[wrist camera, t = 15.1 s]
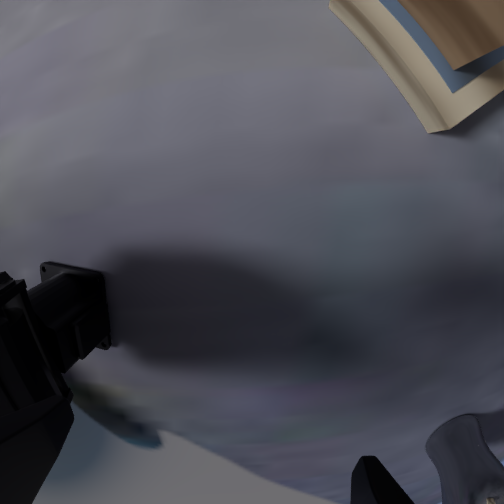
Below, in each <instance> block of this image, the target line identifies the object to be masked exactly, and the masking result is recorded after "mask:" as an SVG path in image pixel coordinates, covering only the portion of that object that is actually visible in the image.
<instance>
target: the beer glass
mask: <svg viewBox="0 0 504 504" xmlns="http://www.w3.org/2000/svg"><path fill="white" fill-rule="evenodd" d="M426 452H427V454H428V456H429V458H430V459H431V461H432V462H433V464H434V465H435V467H436V469H437V472H438V474H439V478H440V483H441V492H442V504H504V466H503V465H502V463H501V462H500V461H499V460H498V459H497V458H496V456H495V455H494V454H493V453H492V451H491V450H490V448H489V447H488V445H487V443H486V441H485V439H484V436H483V433H482V429H481V425H480V422H479V420H478V418H477V417H476V416H474V415H463V416H459V417H456V418H454V419H452V420H450V421H448V422H446V423H445V424H443V425H442V426H441V427H439V428H438V429H437V430H436V431H435V432H434V433H433V434H432V435H431V436H430V438H429V439H428V441H427V443H426Z"/></svg>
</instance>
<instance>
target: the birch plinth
mask: <svg viewBox="0 0 504 504" xmlns="http://www.w3.org/2000/svg"><path fill="white" fill-rule="evenodd" d="M329 9H330V10H331V11H332V12H333V13H334V14H335V15H336V16H337V17H338V18H339V19H340V20H341V21H342V22H343V23H344V24H345V25H346V26H347V27H348V28H349V30H350V31H351V32H352V33H353V34H354V35H355V36H356V37H357V38H358V39H359V41H360V42H361V43H362V44H363V45H364V46H365V48H366V49H367V50H368V51H369V52H370V53H371V55H372V56H373V57H374V58H375V59H376V61H377V62H378V63H379V64H380V66H381V67H382V68H383V69H384V71H385V72H386V73H387V75H388V76H389V77H390V79H391V80H392V81H393V83H394V84H395V85H396V87H397V88H398V89H399V91H400V92H401V93H402V95H403V96H404V98H405V99H406V101H407V102H408V103H409V105H410V106H411V108H412V109H413V111H414V112H415V114H416V115H417V117H418V118H419V120H420V121H421V123H422V125H423V126H424V128H425V129H426V131H427V133H432V132H438V131H443V130H449V129H451V128H452V127H454V126H455V125H456V124H458V123H459V122H461V121H462V120H463V119H465V118H466V117H467V116H469V115H470V114H471V113H473V112H474V111H476V110H477V109H478V108H480V107H481V106H482V105H484V104H485V103H486V102H488V101H489V100H491V99H492V98H493V97H495V96H496V95H497V94H499V93H500V92H501V91H503V90H504V45H503V46H501V47H499V48H497V49H495V50H493V51H491V52H489V53H487V54H485V55H483V56H481V57H479V58H477V59H475V60H473V61H471V62H469V63H467V64H465V65H463V66H461V67H459V68H457V69H455V70H453V69H452V67H451V66H450V65H449V63H448V62H447V60H446V59H445V58H444V56H443V55H442V53H441V52H440V51H439V49H438V48H437V47H436V45H435V44H434V43H433V42H432V40H431V39H430V38H429V36H428V35H427V34H426V33H425V32H424V30H423V29H422V28H421V27H420V25H419V24H418V23H417V22H416V21H415V20H414V18H413V17H412V16H411V15H410V14H409V13H408V12H407V11H406V9H405V8H404V7H403V6H402V5H401V4H400V3H399V2H398V1H397V0H330V3H329Z"/></svg>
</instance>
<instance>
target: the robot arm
mask: <svg viewBox="0 0 504 504" xmlns="http://www.w3.org/2000/svg"><path fill="white" fill-rule="evenodd" d="M45 268H46V269H45ZM40 274H41V281H42V283H40V284H38V285H37V286H35V287H33V288H31V289H30V290H28V291H27V290H26V288H27V286H26V283H25V280H24V279H21V280H13V278H11V277H10V276H9V275H8V274H7V273H6V271H4V272H0V504H32V503H33V501H34V499H35V497H36V495H37V493H38V491H39V489H40V488H41V486H42V484H43V482H44V481H45V479H46V477H47V475H48V473H49V472H50V470H51V468H52V466H53V464H54V463H55V461H56V459H57V457H58V456H59V453H60V451H61V449H62V447H63V444H64V442H65V440H66V438H67V435H68V433H69V431H70V428H71V426H72V424H73V421H74V414H73V411H72V409H71V406H70V403H71V401H72V398H73V396H74V394H73V393H72V391H71V389H70V388H68V386H67V384H66V382H65V380H64V378H63V376H62V374H61V372H62V373H66V372H67V371H68V370H69V369H70V368H71V367H72V366H73V365H74V364H75V363H76V362H77V361H78V360H79V359H81V360H83V359H84V358H85V357H86V356H87V355H88V354H89V353H90V352H91V351H92V350H93V349H94V348H95V347H96V348H100V349H103V350H108V349H109V348H110V347H111V338H110V324H109V315H108V305H107V303H106V293H105V280H104V277H103V275H102V274H101V273H99V272H94V271H89V270H84V269H78V268H73V267H68V266H63V265H58V264H53V263H49V262H44V263H42V264H41V265H40ZM96 278H98V280H99V282H98V281H97V279H96ZM104 343H105V344H104ZM350 504H414V502H413V501H412V500H411V499H410V498H409V496H408V495H407V494H406V493H405V492H404V490H403V489H402V488H401V487H400V485H399V484H398V483H397V482H396V481H395V479H394V478H393V477H392V476H391V474H390V473H389V472H388V471H387V470H386V468H385V467H384V466H383V465H382V463H381V462H380V461H379V460H378V458H377V457H375V456H362V457H361V458H360V459H359V461H358V463H357V464H356V466H355V468H354V470H353V472H352V477H351V502H350Z"/></svg>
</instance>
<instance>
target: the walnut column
mask: <svg viewBox="0 0 504 504" xmlns="http://www.w3.org/2000/svg"><path fill="white" fill-rule="evenodd" d="M397 1H398V2H399V3H400V4H401V5H402V6H403V7H404V8H405V9H406V11H407V12H408V13H409V14H410V15H411V16H412V17H413V18H414V20H415V21H416V22H417V23H418V24H419V25H420V27H421V28H422V29H423V30H424V32H425V33H426V34H427V35H428V36H429V38H430V39H431V40H432V42H433V43H434V44H435V45H436V47H437V48H438V49H439V51H440V52H441V53H442V55H443V56H444V58H445V59H446V60H447V62H448V63H449V65H450V66H451V67H452V69H453V70H455V69H457V68H459V67H461V66H463V65H465V64H467V63H469V62H471V61H473V60H475V59H477V58H479V57H481V56H483V55H485V54H487V53H489V52H491V51H493V50H495V49H497V48H499V47H501V46H503V45H504V0H397Z"/></svg>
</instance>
